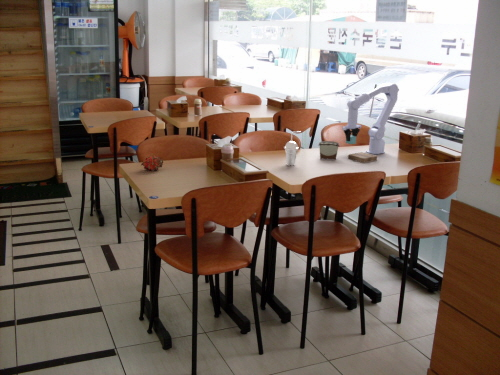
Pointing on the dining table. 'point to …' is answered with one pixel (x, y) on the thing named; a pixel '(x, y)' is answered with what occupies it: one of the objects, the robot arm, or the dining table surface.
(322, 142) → the food container
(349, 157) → the walnut block
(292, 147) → the cup with straw
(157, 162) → the dragon fruit
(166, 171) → the dining table surface
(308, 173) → the dining table surface
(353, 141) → the teal cube
